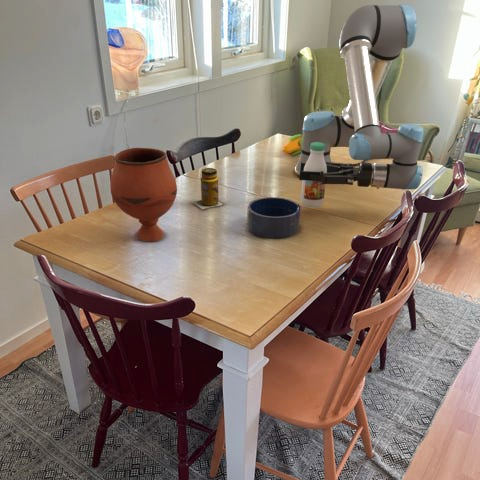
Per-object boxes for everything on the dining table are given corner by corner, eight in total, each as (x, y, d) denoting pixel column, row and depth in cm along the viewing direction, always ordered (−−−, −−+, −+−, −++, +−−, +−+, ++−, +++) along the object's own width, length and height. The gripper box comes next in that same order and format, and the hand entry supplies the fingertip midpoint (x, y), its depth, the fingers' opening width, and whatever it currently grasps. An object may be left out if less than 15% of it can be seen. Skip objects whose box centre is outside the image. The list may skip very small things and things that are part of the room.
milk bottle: (295, 203, 163) (300, 143, 151) (309, 197, 167) (315, 139, 155) (314, 210, 158) (320, 148, 147) (327, 203, 163) (335, 143, 151)
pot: (283, 214, 163) (284, 194, 159) (308, 233, 150) (310, 212, 146) (239, 222, 157) (239, 201, 153) (261, 242, 145) (262, 221, 141)
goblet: (126, 222, 156) (114, 144, 142) (184, 223, 156) (179, 145, 141) (111, 249, 141) (97, 164, 126) (176, 250, 140) (169, 165, 126)
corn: (311, 132, 221) (292, 142, 207) (311, 149, 225) (291, 159, 211) (297, 131, 225) (277, 140, 211) (297, 147, 229) (277, 158, 215)
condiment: (223, 204, 169) (222, 171, 162) (202, 209, 165) (201, 175, 158) (212, 198, 174) (211, 165, 167) (192, 203, 170) (190, 169, 163)
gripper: (371, 198, 148) (297, 193, 151) (366, 175, 165) (300, 172, 167) (375, 174, 144) (299, 169, 146) (370, 153, 160) (302, 150, 163)
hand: (300, 171), depth 157 cm, fingers closed on milk bottle, 8 cm apart
